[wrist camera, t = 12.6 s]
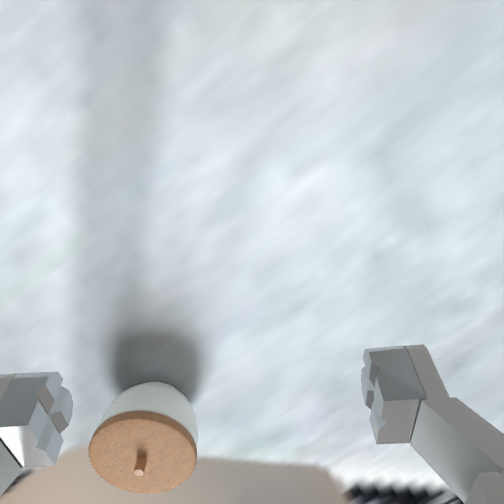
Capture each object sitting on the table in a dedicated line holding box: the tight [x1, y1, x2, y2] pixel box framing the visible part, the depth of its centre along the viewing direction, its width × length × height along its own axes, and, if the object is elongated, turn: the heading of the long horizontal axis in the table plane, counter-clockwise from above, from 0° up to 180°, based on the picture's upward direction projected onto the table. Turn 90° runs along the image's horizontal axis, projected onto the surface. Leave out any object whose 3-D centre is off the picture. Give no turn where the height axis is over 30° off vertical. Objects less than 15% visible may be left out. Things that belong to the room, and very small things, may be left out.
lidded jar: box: [89, 381, 198, 494], centre depth 46 cm, size 11×11×9 cm
